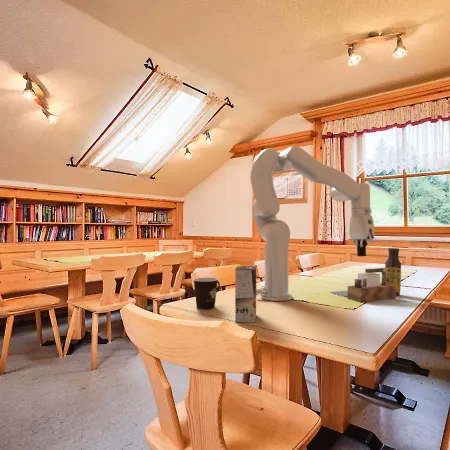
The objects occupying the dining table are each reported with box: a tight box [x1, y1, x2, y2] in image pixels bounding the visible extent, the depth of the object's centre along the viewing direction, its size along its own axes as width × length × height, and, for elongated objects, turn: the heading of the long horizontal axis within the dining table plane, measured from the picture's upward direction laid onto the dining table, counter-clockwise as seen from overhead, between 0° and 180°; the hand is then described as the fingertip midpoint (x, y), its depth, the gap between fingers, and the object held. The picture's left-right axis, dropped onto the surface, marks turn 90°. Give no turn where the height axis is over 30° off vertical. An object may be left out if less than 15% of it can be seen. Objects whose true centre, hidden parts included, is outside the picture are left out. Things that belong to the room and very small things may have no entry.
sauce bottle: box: [384, 247, 402, 297], centre depth 138 cm, size 6×6×20 cm
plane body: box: [347, 272, 397, 303], centre depth 131 cm, size 18×7×10 cm, turn 112°
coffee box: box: [234, 265, 257, 323], centre depth 103 cm, size 9×6×16 cm
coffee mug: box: [193, 277, 221, 311], centre depth 117 cm, size 12×9×10 cm
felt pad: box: [330, 289, 348, 298], centre depth 140 cm, size 12×9×1 cm
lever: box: [364, 267, 388, 274], centre depth 132 cm, size 10×3×1 cm, turn 112°
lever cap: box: [357, 272, 381, 288], centre depth 130 cm, size 7×4×5 cm, turn 112°
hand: (361, 256), depth 138 cm, fingers closed
